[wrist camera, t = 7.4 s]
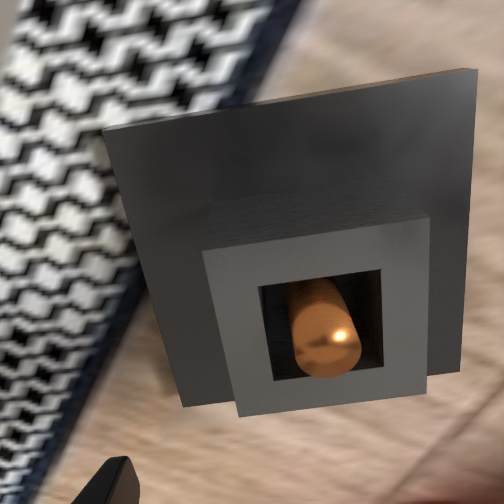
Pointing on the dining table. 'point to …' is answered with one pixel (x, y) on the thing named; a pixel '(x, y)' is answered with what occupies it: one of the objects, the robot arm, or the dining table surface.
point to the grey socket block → (287, 179)
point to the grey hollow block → (315, 266)
